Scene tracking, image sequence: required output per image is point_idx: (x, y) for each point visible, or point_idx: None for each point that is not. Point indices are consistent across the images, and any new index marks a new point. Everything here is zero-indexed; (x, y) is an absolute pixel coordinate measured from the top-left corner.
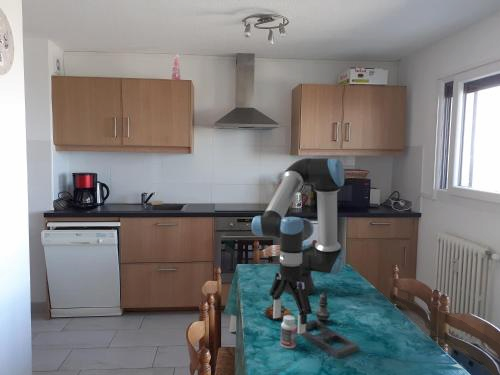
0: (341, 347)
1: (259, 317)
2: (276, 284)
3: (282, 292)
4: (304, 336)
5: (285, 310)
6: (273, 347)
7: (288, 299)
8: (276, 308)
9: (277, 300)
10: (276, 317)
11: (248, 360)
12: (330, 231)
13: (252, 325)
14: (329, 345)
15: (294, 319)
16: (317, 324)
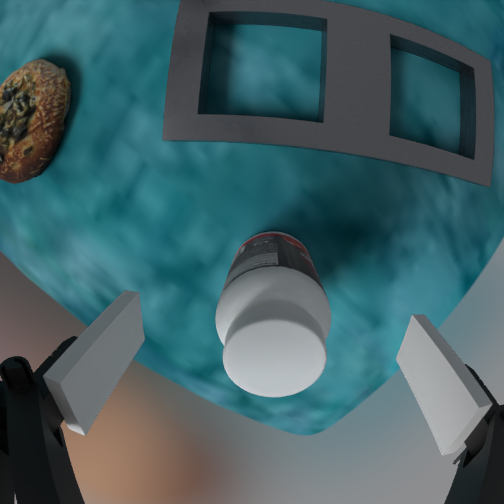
0: (477, 129)
1: (14, 206)
2: None
3: (62, 490)
4: (267, 144)
5: (27, 89)
6: None
7: None
8: (111, 371)
9: (76, 412)
10: (140, 326)
11: (269, 425)
12: None
13: (54, 275)
14: (444, 153)
15: (325, 345)
16: (229, 11)
